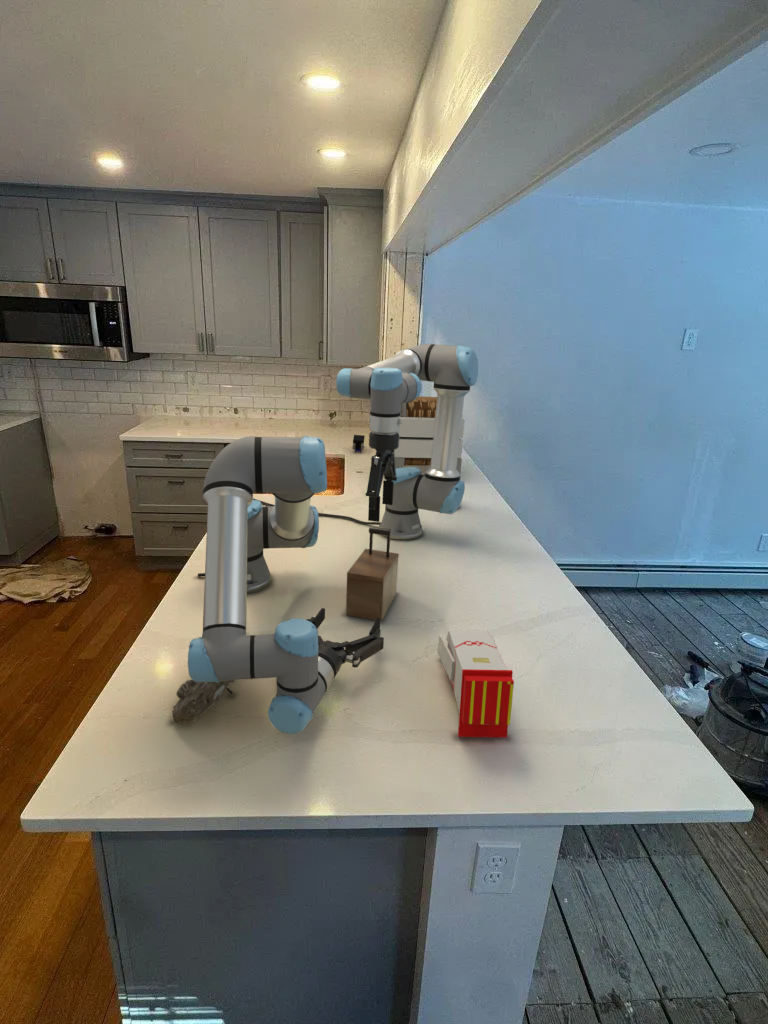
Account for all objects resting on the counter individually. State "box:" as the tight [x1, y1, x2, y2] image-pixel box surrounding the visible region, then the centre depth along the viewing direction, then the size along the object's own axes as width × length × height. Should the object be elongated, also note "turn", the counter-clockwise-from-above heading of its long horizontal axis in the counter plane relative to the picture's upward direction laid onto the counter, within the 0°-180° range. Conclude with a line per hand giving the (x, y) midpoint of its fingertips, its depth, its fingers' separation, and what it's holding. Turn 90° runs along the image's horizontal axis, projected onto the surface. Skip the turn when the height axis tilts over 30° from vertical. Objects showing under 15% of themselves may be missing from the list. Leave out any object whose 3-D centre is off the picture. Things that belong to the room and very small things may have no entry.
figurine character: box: [351, 434, 365, 454], centre depth 311 cm, size 7×8×15 cm
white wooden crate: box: [394, 396, 465, 475], centre depth 268 cm, size 34×33×41 cm
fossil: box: [171, 679, 235, 724], centre depth 113 cm, size 22×10×15 cm
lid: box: [346, 525, 400, 583], centre depth 147 cm, size 16×10×9 cm, turn 165°
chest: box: [345, 558, 399, 622], centre depth 150 cm, size 16×10×11 cm, turn 165°
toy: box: [437, 628, 515, 738], centre depth 117 cm, size 12×13×30 cm
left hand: (350, 618), depth 133 cm, fingers open, 13 cm apart
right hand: (380, 512), depth 148 cm, fingers open, 13 cm apart
